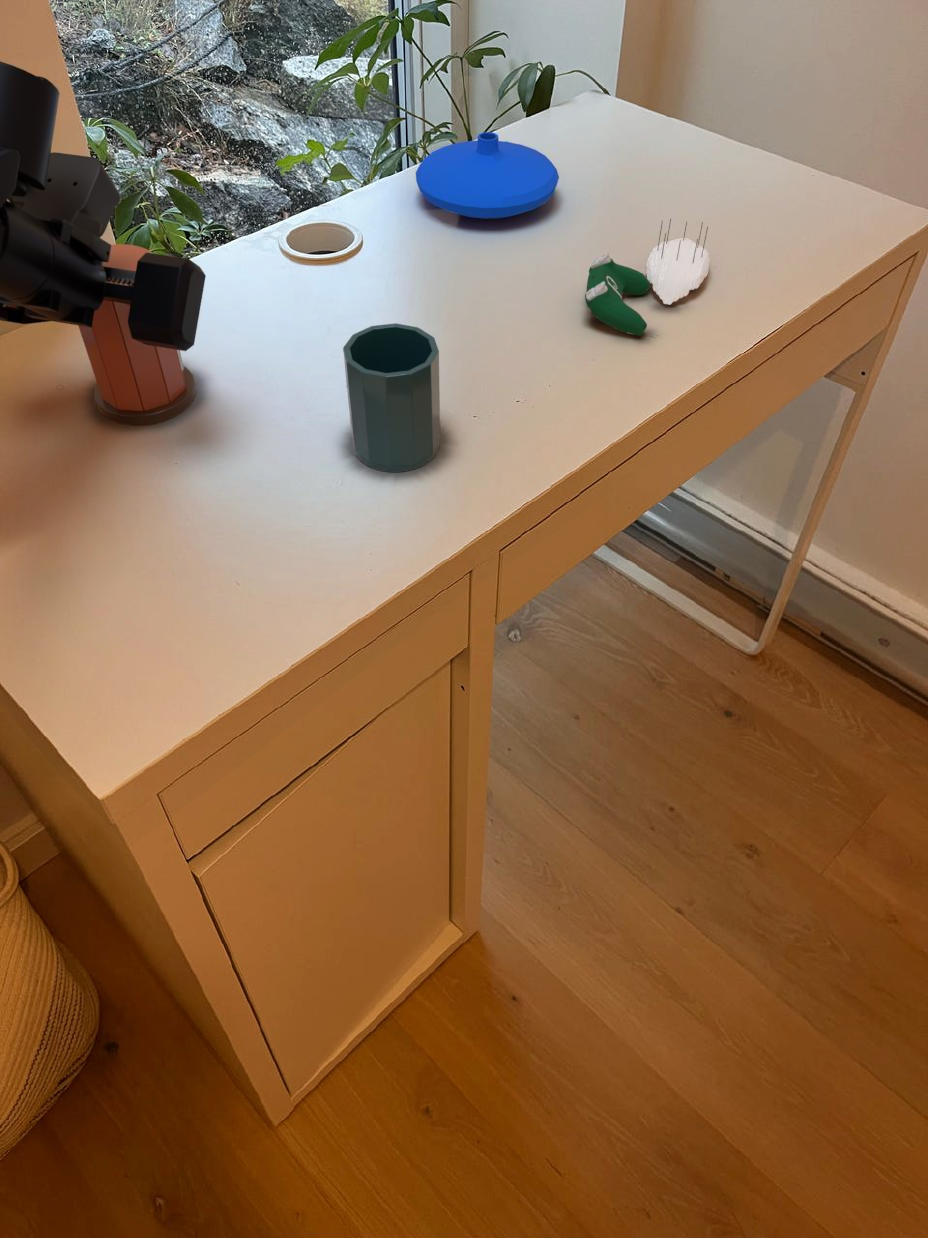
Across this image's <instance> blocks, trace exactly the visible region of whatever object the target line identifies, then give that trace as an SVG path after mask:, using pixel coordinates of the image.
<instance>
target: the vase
mask: <svg viewBox="0 0 928 1238" xmlns="http://www.w3.org/2000/svg"><path fill="white" fill-rule="evenodd" d="M559 180H560V175H559V172H558V169H557V168H556V166H555V165H554V163H553V162H552V161H551V160H550V159H549V158H548V156H547V155H546V154H543V153H542V152H540V151H538V150H537V149H534V148H532V147H529V146H527V145H523V144H520V143H515V142H511V141H504V140H503V141H502V140H499V135H498V134H497V133H495V132H491V131H484V132H480V133H479V134H478V135H477V140H469V141H462V142H461V141H460V142H454V143H452V144H449V145H446V146H443V147H439V148H438V149H436V150H433V151H432V152H430V153H429V154H428V155H427V156H426V157H424V158H423V160H422V161H421V162H420V164H419V165H418V167H417V169H416V171H415V182H416V184H417V187H418V190H419V192H420V193H421V195H422V196H423V197H424V199H425V200H426V201H428V202H429V203H431V204H432V205H433V206H435V207H438V208H440V209H442V210H444V211H448V212H450V213H452V214H455V215H459V216H463V217H467V218H473V219H483V220H489V219H490V220H492V219H502V218H510V217H513V216H516V215H520V214H523V213H526V212H529V211H532V210H536V209H537V208H539V207H541V206H543V205H544V204H546V203H547V202H548V201H549V200H550V199H551V198H552V197H553V196H554V193H555V191H556V188H557V186H558V182H559Z"/></svg>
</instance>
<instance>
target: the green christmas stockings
mask: <svg viewBox="0 0 928 1238" xmlns="http://www.w3.org/2000/svg"><path fill="white" fill-rule="evenodd" d="M650 285H651V283H650V282H649V281H648V279H647V276H646V275H645V274H644V273H643V272H641V271H639V270H636V269H634V268H631V267H630V266H629V267H628V266H625V265H622V264H618V263H616V262H615V261H614V259H612V258H611V256H610V253H609V252H605V253H604V254H602V255H600V256H599V257H597V258H595V259H594V261H593V262H592V263H591V265H590V267H589V270H588V277H587V282H586V293H585V294H584V297H585V298H584V301H585V303H586V306H587V308H588V309H589V310H590V313H591V314H592V316H593V317H594V318H597V319H598V320H599V321H601V322H602V323H604V324H606V325H607V326H609V327H611V328H613V329H614V330H617V331H619V332H622V333H625V334H628V335H633V336H637V337H639V336H640V337H641V336H642V335H643V334H644V332H645V330H646V329H647V328H648V324H647V322H646V321H645V319H644V318H643V317H642V316H641V314H640V313H639V312H638V311H636V309H633V308H632V307H630V306H629V305H627V304H626V303H625V302H623V294H624V295H625V294H626V295H631V296H642V295H645V294H646V293H647V292H648V291H649V289H650Z"/></svg>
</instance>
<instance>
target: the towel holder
mask: <svg viewBox="0 0 928 1238" xmlns="http://www.w3.org/2000/svg"><path fill="white" fill-rule="evenodd" d="M184 370H185V374H186V389H185V390H184V391H183V392H182V393H181V394H180V395H179V396H178V397H177V398H176V399H175V400H174V401H172V402H171V403H170V402H169V404H167V405H164V406H160V407H157V408H154V409H150V410H147V411H145V410H144V411H131V410H119V409H116V408H115V407H113V406H112V405H110V404H109V403H107V402H106V401H105V400H103V399H102V397H101V394H100V391H99V388H98V385H97V384H96V385H95V387H94V392H93V397H94V401H95V403H96V407H97V409H98V411H99V413H100V414H101V415H102V416H104V418H106V419H107V420H109V421H110V422H113V423H116V424H120V425H126V426H149V425H155V424H159V423H162V422H165V421H169V420H170V419H173V418H175V417H177V416H178V415H180V414H182V413H183V412H185V411H186V410H187V409H188V408H189V407H190V406H191V405H192V403H194V400H195V399H196V395H197V385H196V381H195V377H194V374H193V373H192V372H191V371H190V369H189V368H188V367H186V366H184Z"/></svg>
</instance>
